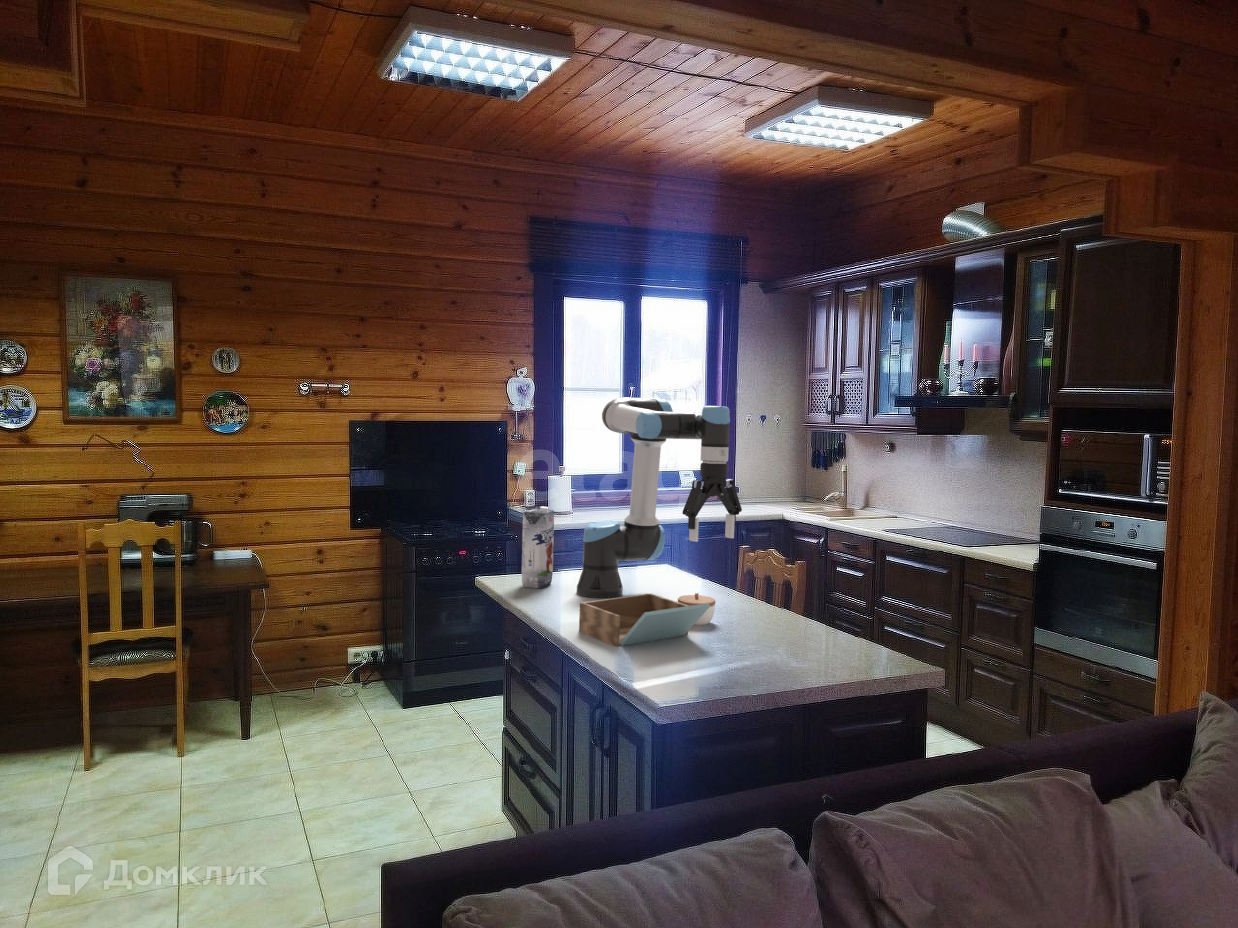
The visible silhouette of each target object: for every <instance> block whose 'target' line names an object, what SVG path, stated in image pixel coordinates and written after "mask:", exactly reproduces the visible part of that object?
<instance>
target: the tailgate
mask: <svg viewBox="0 0 1238 928" xmlns="http://www.w3.org/2000/svg"><path fill="white" fill-rule="evenodd" d="M709 607H710V605H709V603H706V604H699V605H692V606H685V607H678V608H671V609H664V610H658V611H651V612H645V613H644V614H643V615H642V616H641V617H640V619H639V620H638V621H637V622H636V623H635V625H634V626H633V627H632V628H631V629H630V631H629V632H628V633H627V634H626V635H625V637H624V638H623V639H622V640H621V641H620V644H619V647H620V646H621V647H622V646H629V645H633V644H641V643H646V642H651V641H657V640H663V639H664V640H665V639H668V638H676V637H681V636H686V635H685V634H686V633H687V631H688V632H689V630H691V628H692V627H693V626H695V625H694V624H695V623H696V622H697V620H698V619H699V618H700V617H701V616H702V615H703V614H704V613H705V612H706V611H707V609H708V608H709Z"/></svg>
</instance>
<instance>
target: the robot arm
mask: <svg viewBox="0 0 1238 928" xmlns="http://www.w3.org/2000/svg"><path fill="white" fill-rule="evenodd" d="M673 410H674V409H673V408H672V406H671V404H670V402H669V401H668V400H666V399H663V398H656V397H619V398H614V399H612V400H611V401H609V402H608V403H606V405H604V408H603V410H602V413H601V418H602V423H603V424H604V426H605V427H606V428H607V429H608V430H609V431H612V432H613V433H619V434H625V435H626V434H628V435H630V439H631V441H632V442H633V443H634V450H633V451H634V452H633V460H632V461H633V462H632V463H633V464H632V465H633V466H632V476H631V490H630V503H629V505H630V506H629V514H628V515H627V516H626V517H625V518H624V522H623V525H620V522H619V521H615V520H604V521H603V520H602V521H597V522H596V521H595V522H592V523H589V524H587V525H586V526H585V527H584V530H583V538H582V541H583V542H582V543H583V544H582V546H583V547H582V550H583V551H582V571H581V574H580V577H579V578H578V581H577V582H578V583H577V585H576V594H577V595H579V596H583V597H588V598H599V599H600V598H601V599H602V598H604V599H605V598H606V599H610V598H618V597H621V596H622V595H623V592H624V588H623V584H622V580H621V575H620V573H619V562H624V561H627V562H628V561H631V562H633V561H643V562H644V561H645V562H646V561H651V560H656V559H658V558H659V557H660V556H661V554H662V553H663V551H664V547H665V541H666V540H665V538H666V537H665V529H664V527H663V526H662V525H660V520H659V519H658V518H657V517H656V511H657V502H658V501H657V500H658V499H657V498H658V487H659V475H660V474H659V473H660V462H661V451H662V448H661V447H662V445H663V444H665V442H667V439H669V440H670V439H671V440H672V439H673V440H678V439H679V440H700V441H701V443H700V444H701V446H700V461H702V462H701V463H700V468H699V469H700V470H699V471H700V473H699V475H700V476H701V480H697V479H696V480H695V479H694V480H692V482H691V484H692V485H691V489H690V492H689V494H688V497H687V500H686V501H685V504H684V507H683V509H682V515H684V516H686V517H687V519H688V520H687V521H688V522H687V528H688V529H689V530H688V531H689V534H688V535H689V536H688V539H689V541H691V542H695V543H698V542H699V523H700V522H699V521H700V519H699V516H698V514H699V512H701V510H702V508H703V506H704V505H705V503H706V502H707V500H708V499H710V498H711V497H718V498H719V500H720V501H721V503H722V505H723V507H724V508H725V510H726V511H727V512H728V513H726V514H725V530H724V531H725V533H724V535H725V536H724V537H725V538H727V539H734V538H735V526H736V524H737V523H736V522H737V521H736V520H737V516H738V515H740V513H741V512H742V511H743V508H742V505H741V502H740V500H739V496H738V492H737V490H736V486H735V485H736V483H735V479H733V478H732V479H731V478H728V475H729V464H728V463H727V462H728V461H729V445H730V444H729V443H730V428H731V427H730V423H731V418H730V415H731V414H730V412H731V411H730V408H729V407H728V406H725V405H723V406H721V405H720V406H719V405H705V406H703V408H702V412H700V411H698V412H695V411H693V412H692V411H691V412H684V411H681V412H680V411H673Z"/></svg>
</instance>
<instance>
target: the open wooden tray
mask: <svg viewBox="0 0 1238 928" xmlns="http://www.w3.org/2000/svg"><path fill="white" fill-rule="evenodd" d="M685 606H689V605H685V604H682V603H679V602H678V601H677V600H672V599H669V598H665V597H662V596H659V595H656V594H653V593H643V594H636V595H628V596H618V597H611V598H606V599H605V598H604V599H598V600H597V599H596V600H590V601H589V600H588V601H583V602H582V601H581V602H579V621H578V622H579V625H578V631H579V632H580V633H582V634H584V635H587V636H590V637H591V638H594V639H597V640H600V641H601V642H604V643H606V644H608V645H610V646H611V645H612V646H614V647H620V645H619V644H620V641H621V640H622V639H623V638H624V637H625V635H626V634H627V633H628V632H629V631H630V629H631V628H632V627H633V626H634V625H635V623H636V622H637V621H638V620H639V619H640V617H641V616H642V615H643V614H644V613H645V612H651V611H658V610H664V609H671V608H678V607H685ZM686 635H689V630H688V631H687V633H686V634H685V635H684V636H686Z"/></svg>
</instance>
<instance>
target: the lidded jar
mask: <svg viewBox="0 0 1238 928" xmlns="http://www.w3.org/2000/svg"><path fill="white" fill-rule="evenodd" d="M677 602H679V603H682V604H685V605H689V606H692V605H699V604H706V603H709V605H710V607H709V608H708V609H707V611H706V612H705V613H704V614H703V615H702V616H701V617H700V618H699V619H698V620H697V622H696V623H695V624H694V625H693V626H705V625H709V624H710V623H711V621H712V620H713V617H714V614H715V607H716V606H715V605H716V599H715V598H713V597H710V596H706V595H699V592H695V593H694V594H687V595H680V596H679V597H677Z"/></svg>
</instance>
